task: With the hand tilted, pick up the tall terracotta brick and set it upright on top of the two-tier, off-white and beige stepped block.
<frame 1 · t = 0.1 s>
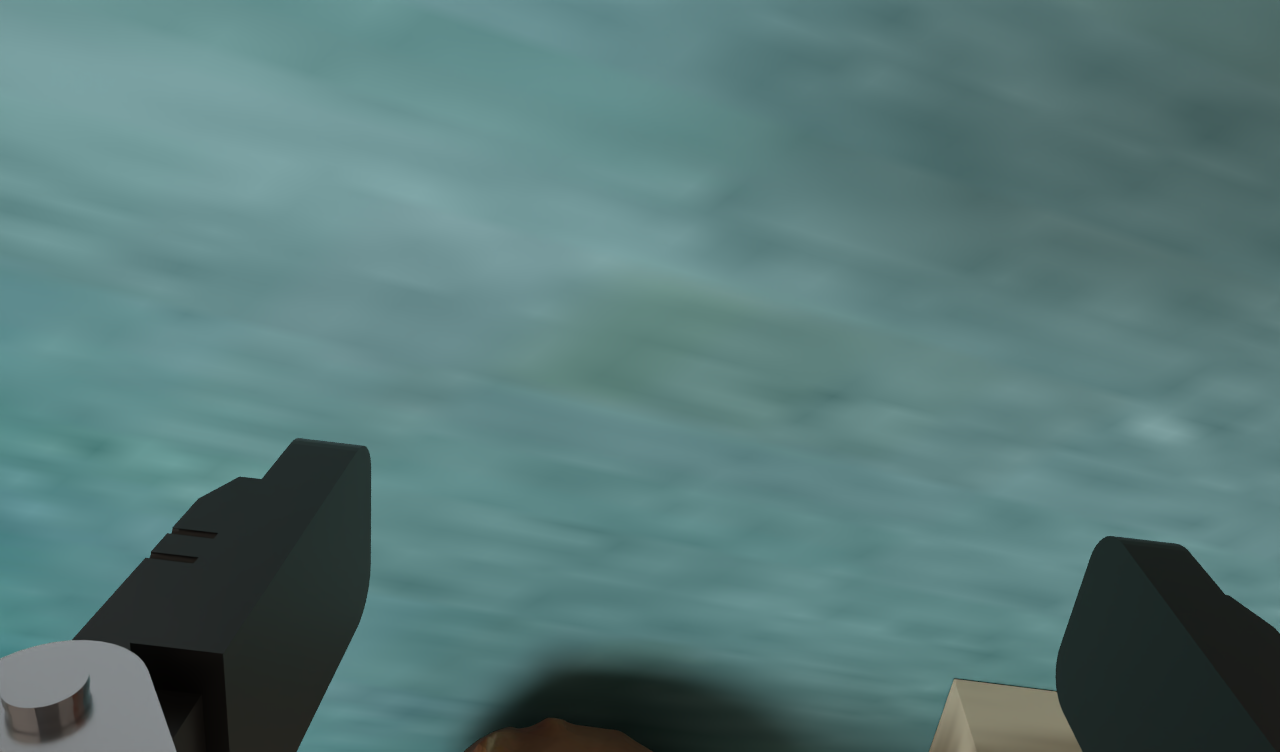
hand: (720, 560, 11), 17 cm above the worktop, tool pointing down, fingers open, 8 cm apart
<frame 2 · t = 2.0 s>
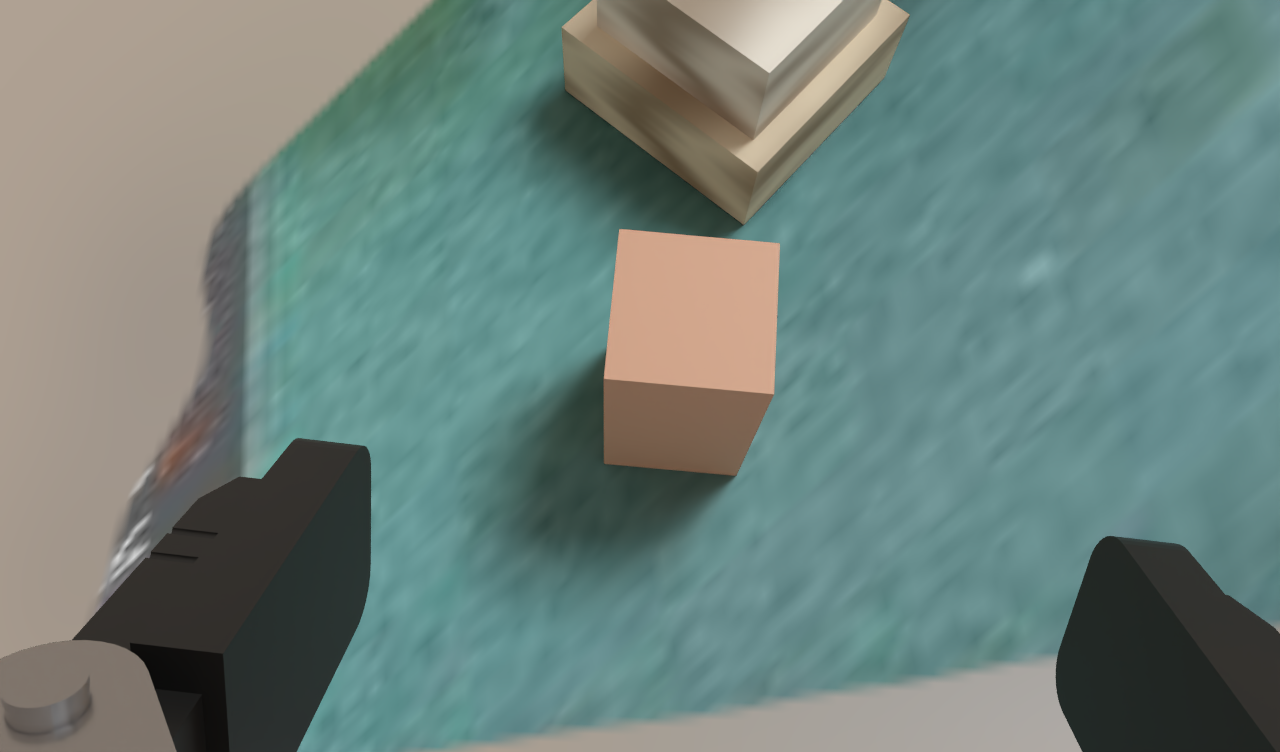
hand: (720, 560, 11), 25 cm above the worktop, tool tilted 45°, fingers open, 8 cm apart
terracotta brick: (674, 407, 39), on the worktop
beige stepped block: (726, 83, 44), on the worktop
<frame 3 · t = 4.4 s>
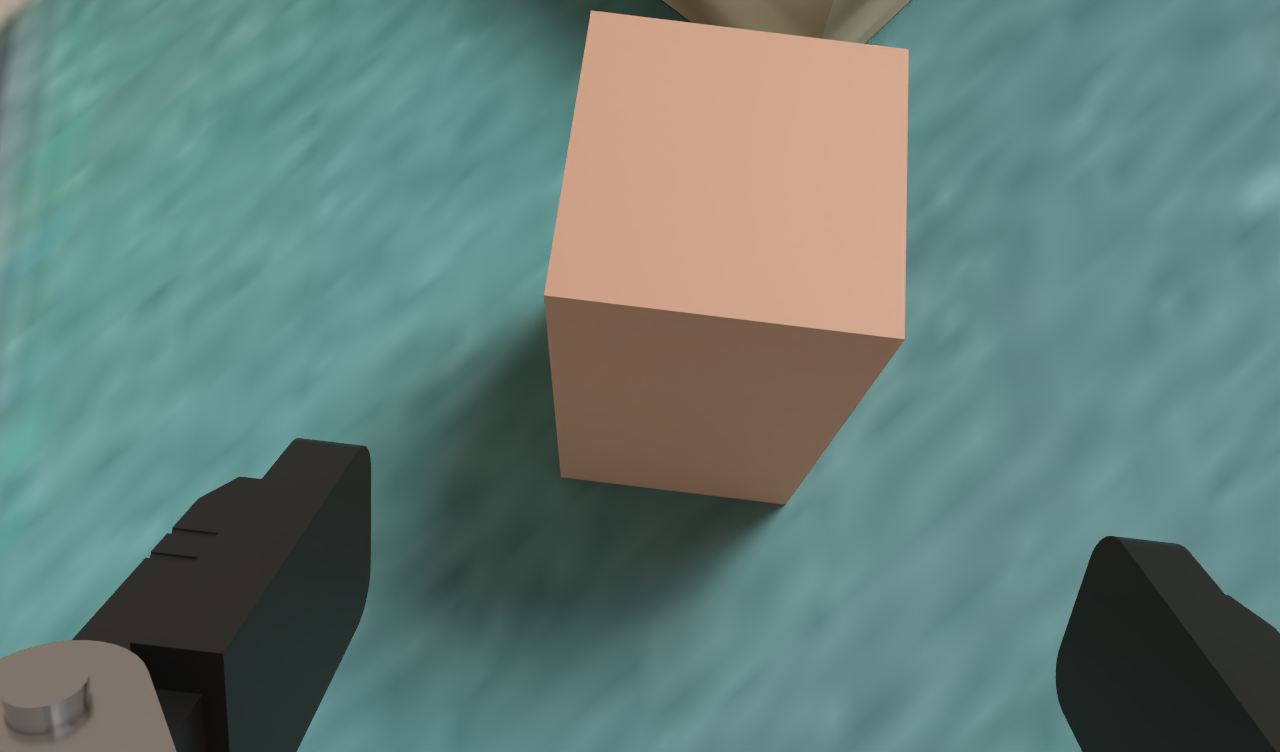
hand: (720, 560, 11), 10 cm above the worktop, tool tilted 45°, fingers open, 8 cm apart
terracotta brick: (683, 386, 23), on the worktop
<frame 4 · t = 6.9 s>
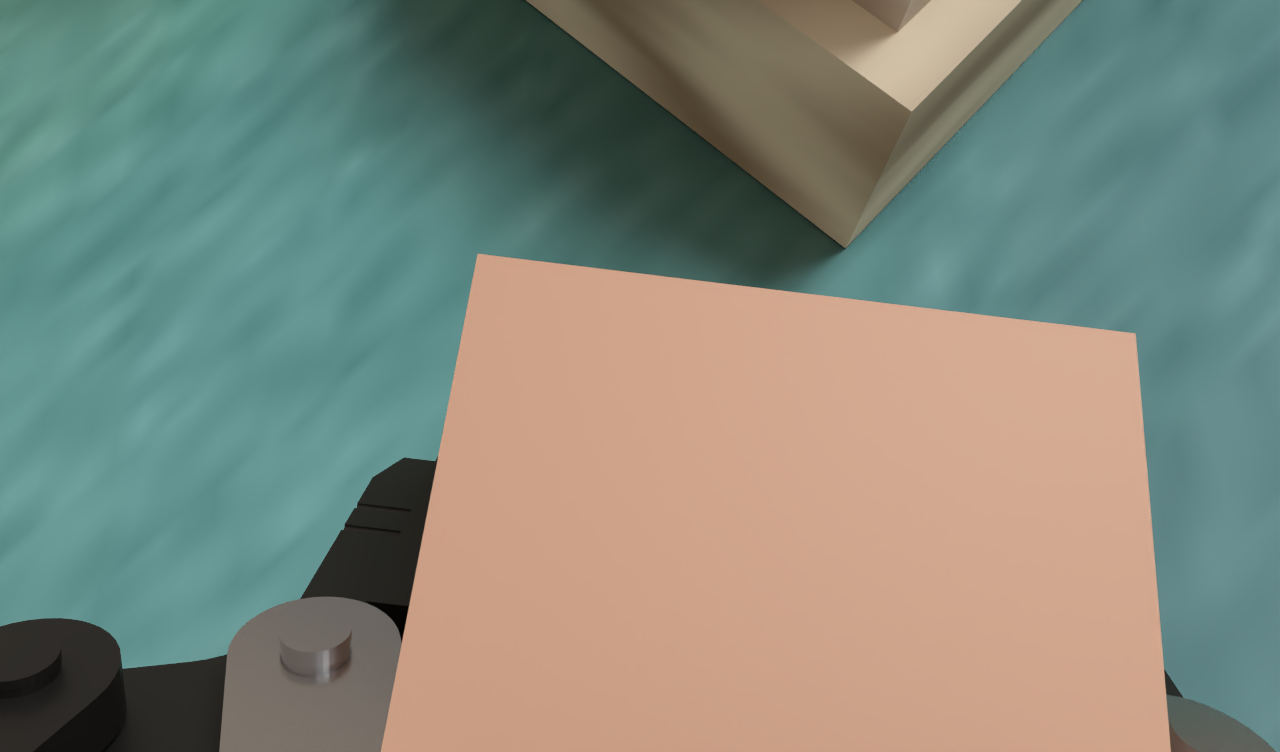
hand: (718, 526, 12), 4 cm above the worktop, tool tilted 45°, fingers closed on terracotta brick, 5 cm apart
terracotta brick: (676, 712, 15), on the worktop, touching gripper
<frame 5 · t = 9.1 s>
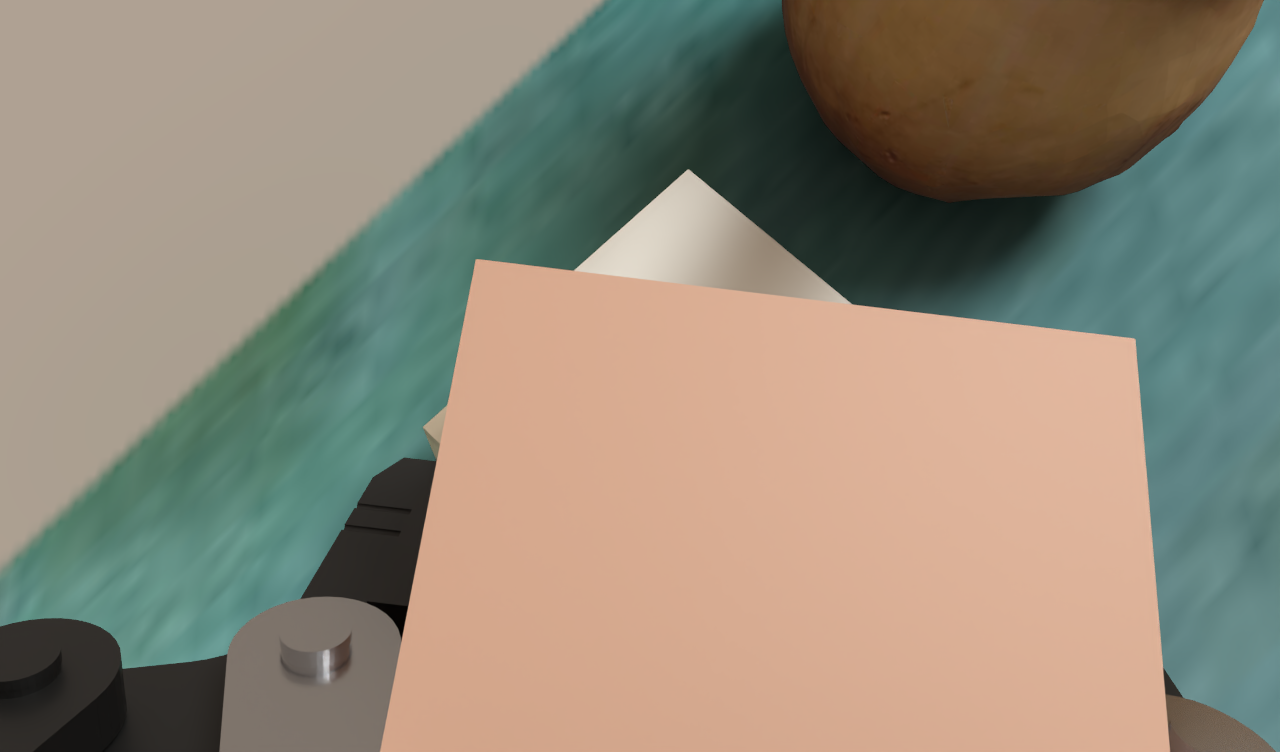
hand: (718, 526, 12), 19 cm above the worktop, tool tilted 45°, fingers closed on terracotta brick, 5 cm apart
terracotta brick: (675, 715, 15), point 14 cm above the worktop, touching gripper
beige stepped block: (668, 467, 31), on the worktop
butternut squash: (936, 119, 37), on the worktop
when the fingers open (14 cm above the worktop, at t = 11.3 s): terracotta brick drops 1 cm, resting on beige stepped block.
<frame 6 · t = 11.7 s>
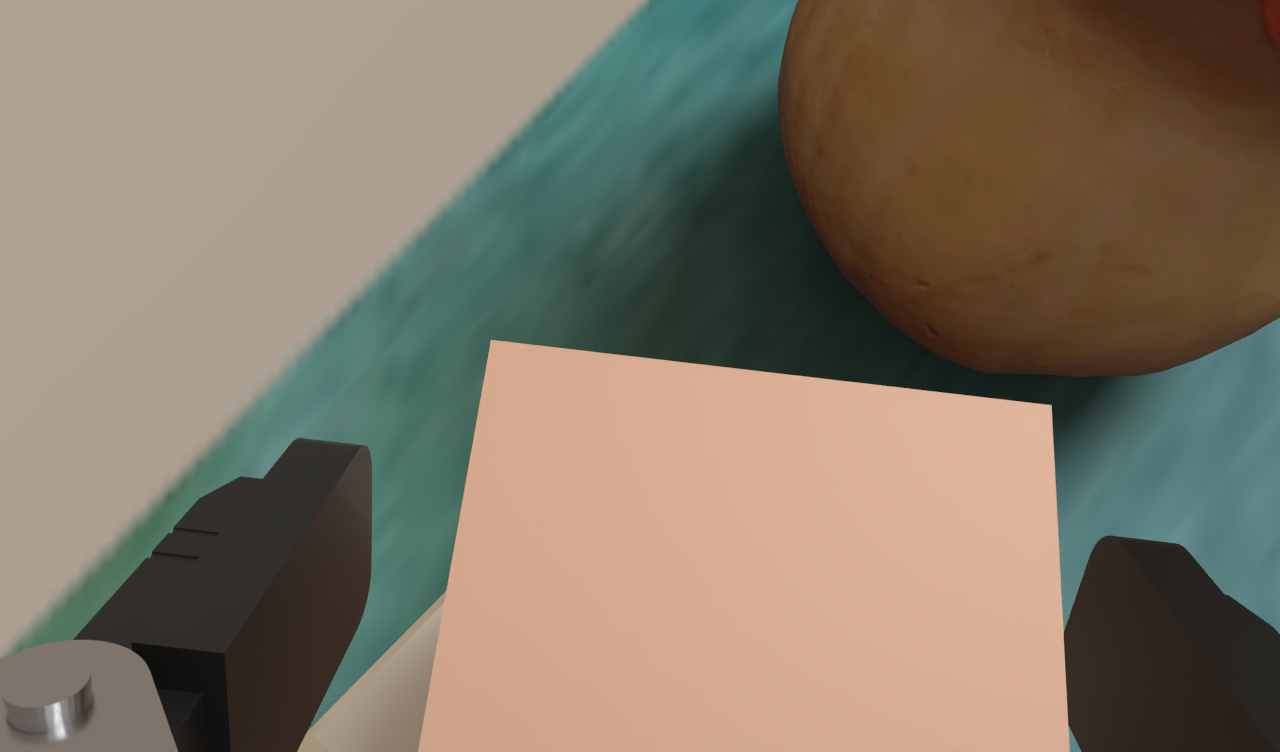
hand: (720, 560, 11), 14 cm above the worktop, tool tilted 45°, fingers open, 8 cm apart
terracotta brick: (669, 721, 16), point 8 cm above the worktop, touching beige stepped block
beige stepped block: (643, 736, 24), on the worktop
butternut squash: (978, 235, 30), on the worktop
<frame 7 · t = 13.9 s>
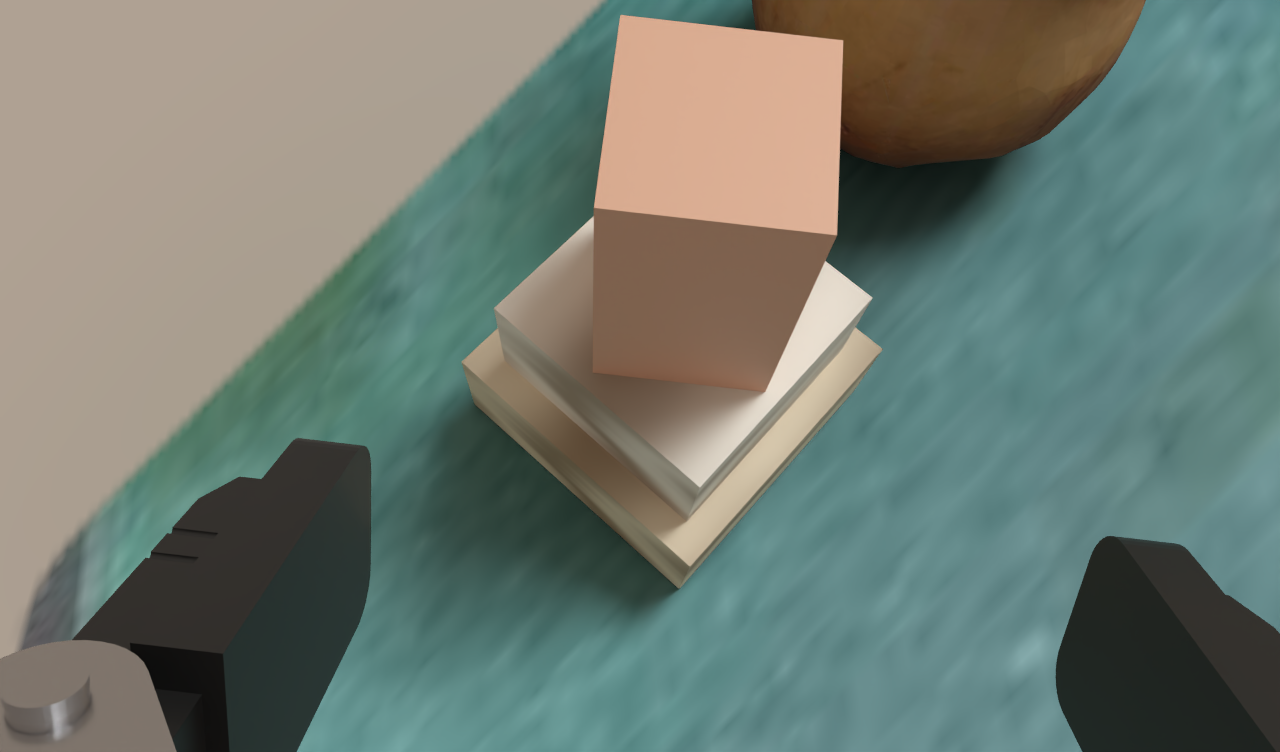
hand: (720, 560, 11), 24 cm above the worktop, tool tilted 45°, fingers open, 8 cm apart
terracotta brick: (686, 304, 30), point 8 cm above the worktop, touching beige stepped block
beige stepped block: (666, 397, 37), on the worktop
butternut squash: (892, 98, 43), on the worktop
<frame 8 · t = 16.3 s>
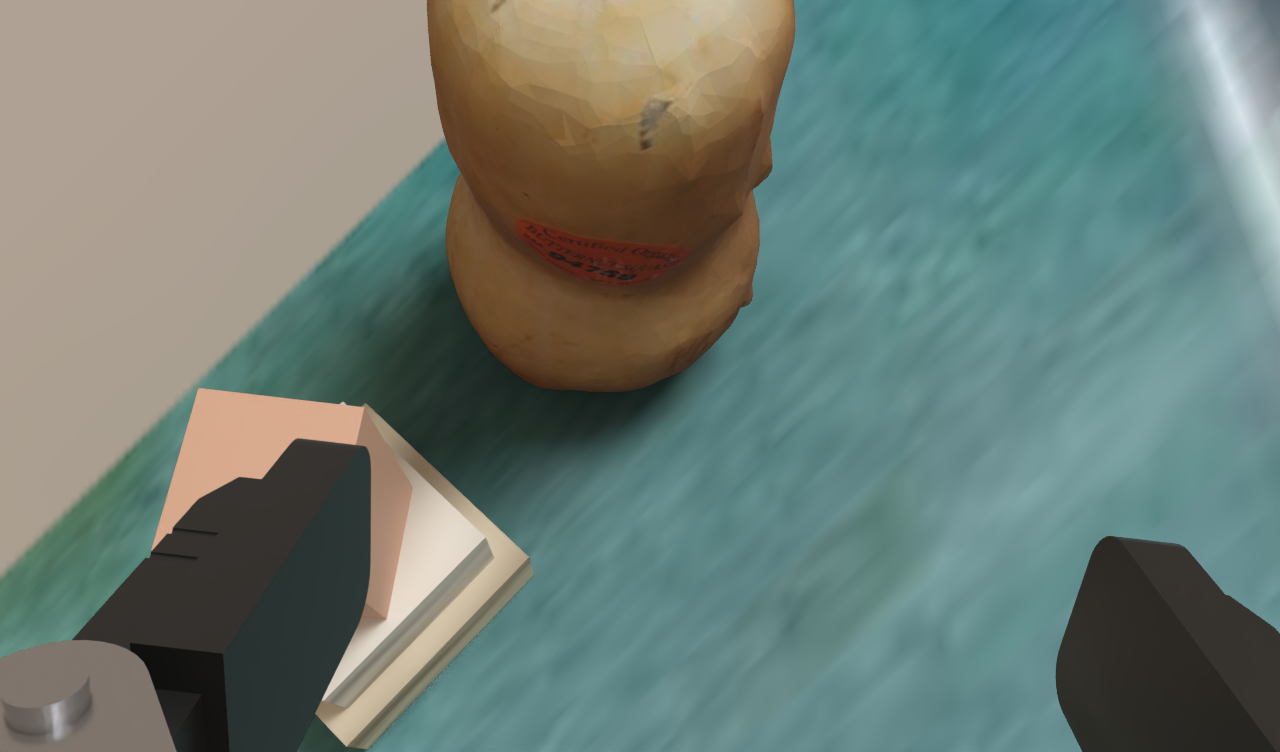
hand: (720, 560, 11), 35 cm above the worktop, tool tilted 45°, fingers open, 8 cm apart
terracotta brick: (333, 544, 37), point 8 cm above the worktop, touching beige stepped block
beige stepped block: (375, 581, 45), on the worktop
butternut squash: (601, 307, 51), on the worktop
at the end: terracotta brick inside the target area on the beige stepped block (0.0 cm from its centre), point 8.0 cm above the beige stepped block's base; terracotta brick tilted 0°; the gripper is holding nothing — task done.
